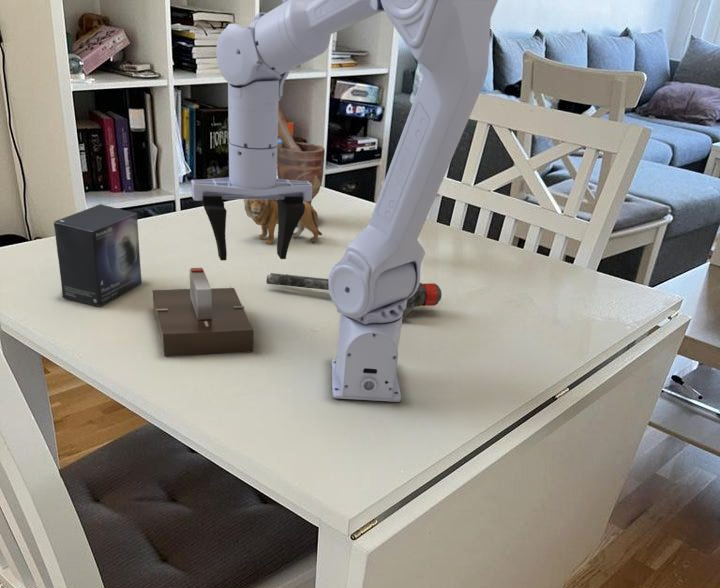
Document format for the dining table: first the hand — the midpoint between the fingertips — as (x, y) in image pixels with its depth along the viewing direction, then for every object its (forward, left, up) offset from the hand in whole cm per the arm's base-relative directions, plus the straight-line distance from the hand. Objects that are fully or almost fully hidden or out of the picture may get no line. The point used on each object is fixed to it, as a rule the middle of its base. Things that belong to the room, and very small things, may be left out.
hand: (252, 257), depth 97 cm
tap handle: (-3, +6, -6) cm, 9 cm away
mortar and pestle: (+49, -4, -10) cm, 50 cm away
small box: (+8, +21, -10) cm, 25 cm away
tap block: (-3, +6, -9) cm, 12 cm away
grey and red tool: (+13, -15, -10) cm, 22 cm away
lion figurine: (+36, -3, -10) cm, 37 cm away
